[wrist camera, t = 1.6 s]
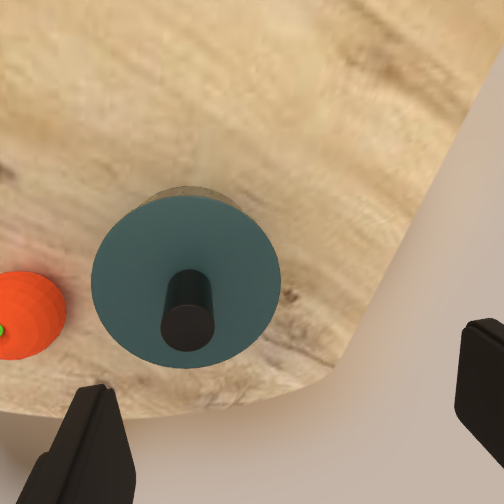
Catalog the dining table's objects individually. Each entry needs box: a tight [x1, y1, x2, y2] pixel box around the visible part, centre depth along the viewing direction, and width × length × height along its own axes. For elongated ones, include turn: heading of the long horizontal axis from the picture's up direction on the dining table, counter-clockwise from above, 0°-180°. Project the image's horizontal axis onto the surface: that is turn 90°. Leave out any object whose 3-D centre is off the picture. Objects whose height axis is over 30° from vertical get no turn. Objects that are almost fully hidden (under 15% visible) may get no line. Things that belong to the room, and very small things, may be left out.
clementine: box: [0, 271, 67, 360], centre depth 29 cm, size 8×7×7 cm
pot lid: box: [91, 195, 281, 369], centre depth 23 cm, size 13×13×7 cm
